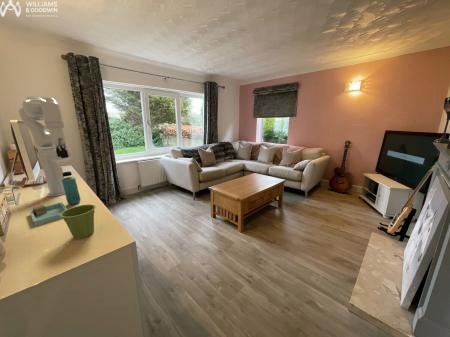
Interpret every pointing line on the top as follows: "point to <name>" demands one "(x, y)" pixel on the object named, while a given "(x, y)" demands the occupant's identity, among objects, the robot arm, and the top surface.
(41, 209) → the walnut block
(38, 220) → the tray
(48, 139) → the robot arm
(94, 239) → the top surface
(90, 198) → the top surface
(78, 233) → the plant pot
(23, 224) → the top surface
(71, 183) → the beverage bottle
